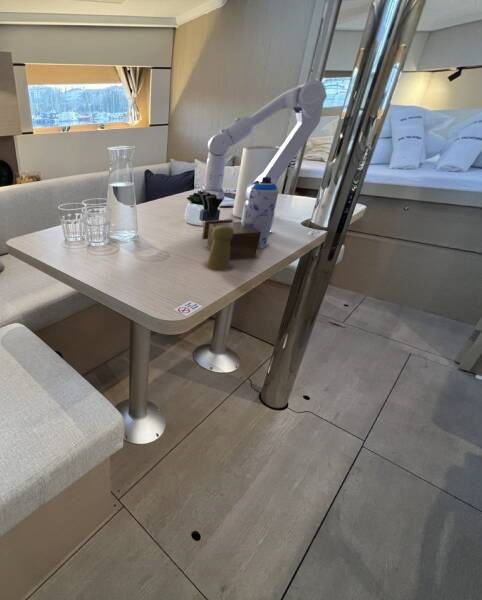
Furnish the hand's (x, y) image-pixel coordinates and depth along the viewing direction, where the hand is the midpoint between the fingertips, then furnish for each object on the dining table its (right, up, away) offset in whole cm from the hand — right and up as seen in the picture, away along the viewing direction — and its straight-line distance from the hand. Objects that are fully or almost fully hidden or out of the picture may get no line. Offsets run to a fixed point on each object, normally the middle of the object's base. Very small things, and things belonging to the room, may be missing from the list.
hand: (209, 215), depth 112 cm
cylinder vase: (+22, +4, +17) cm, 28 cm away
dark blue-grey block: (0, -1, +1) cm, 1 cm away
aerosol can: (+10, -12, -11) cm, 19 cm away
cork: (-7, -21, -25) cm, 33 cm away
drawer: (0, -10, -9) cm, 14 cm away
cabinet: (0, -16, -17) cm, 23 cm away
